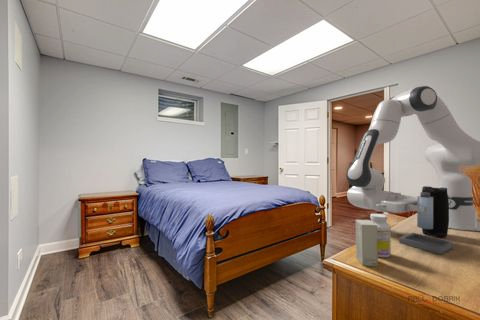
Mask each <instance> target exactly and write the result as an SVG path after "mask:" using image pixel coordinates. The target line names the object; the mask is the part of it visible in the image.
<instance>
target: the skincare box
mask: <svg viewBox="0 0 480 320" xmlns="http://www.w3.org/2000/svg"><path fill="white" fill-rule="evenodd" d="M355 247H356V248H355V250H356V251H355V254H356V259H357V260H358V262H359V263H360V264H361V265H362V266H365V267H366V266H367V267H378V266H379V262H378V261H379V260H378V259H379V257H378V249H377V225H376V224H375V223H373V222H372V221H371V219H355Z"/></svg>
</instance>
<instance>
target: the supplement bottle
mask: <svg viewBox="0 0 480 320" xmlns="http://www.w3.org/2000/svg"><path fill="white" fill-rule="evenodd" d="M369 215H370V216H369V218H370V221H372V222H373V223H375V224H376V225H377V249H378V258H389V257H390V256H391V251H392V249H391V246H392V245H391V243H392V242H391V230H392V229H391V225H390V224H389V223H388V222H387V220H388V216H387V215H386V214H383V213H371V214H369Z"/></svg>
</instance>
